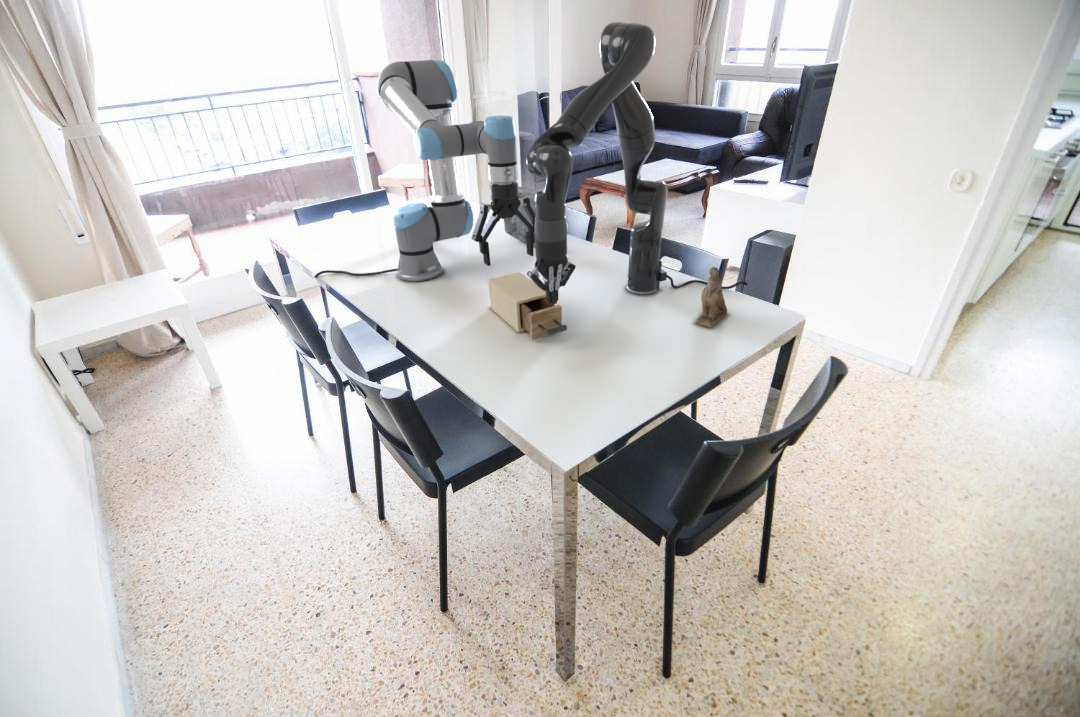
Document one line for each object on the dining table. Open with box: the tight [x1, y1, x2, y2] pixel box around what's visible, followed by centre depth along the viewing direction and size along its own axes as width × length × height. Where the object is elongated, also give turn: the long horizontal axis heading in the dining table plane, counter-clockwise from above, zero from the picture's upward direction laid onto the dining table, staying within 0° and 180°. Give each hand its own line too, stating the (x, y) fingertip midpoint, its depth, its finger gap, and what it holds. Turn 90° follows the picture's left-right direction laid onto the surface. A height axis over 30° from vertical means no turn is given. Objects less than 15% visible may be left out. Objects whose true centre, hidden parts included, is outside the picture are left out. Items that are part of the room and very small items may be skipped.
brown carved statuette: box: [695, 266, 728, 328], centre depth 135 cm, size 12×6×18 cm, turn 136°
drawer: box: [519, 297, 568, 340], centre depth 135 cm, size 23×9×7 cm, turn 29°
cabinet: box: [487, 271, 546, 333], centre depth 143 cm, size 18×10×9 cm, turn 29°
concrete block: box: [503, 186, 538, 247], centre depth 195 cm, size 27×9×20 cm, turn 36°
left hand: (509, 259), depth 141 cm, fingers open, 13 cm apart
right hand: (552, 303), depth 125 cm, fingers closed
